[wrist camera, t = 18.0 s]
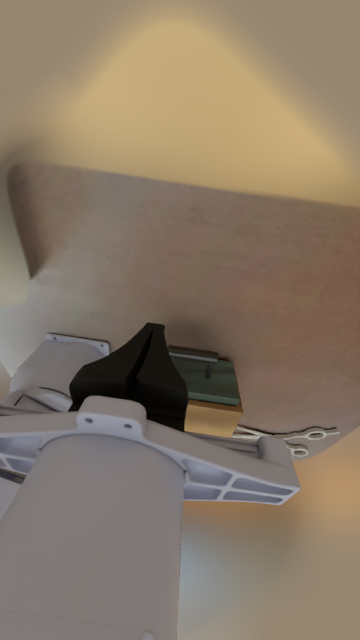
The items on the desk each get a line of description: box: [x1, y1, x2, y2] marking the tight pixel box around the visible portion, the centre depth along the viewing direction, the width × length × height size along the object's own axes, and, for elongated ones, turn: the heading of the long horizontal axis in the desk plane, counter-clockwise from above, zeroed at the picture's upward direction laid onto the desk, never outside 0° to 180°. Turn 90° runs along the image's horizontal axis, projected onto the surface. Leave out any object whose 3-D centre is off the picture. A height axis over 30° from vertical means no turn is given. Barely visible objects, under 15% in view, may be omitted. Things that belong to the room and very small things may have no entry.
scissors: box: [231, 426, 339, 456], centre depth 40 cm, size 11×1×20 cm
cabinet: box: [184, 364, 243, 438], centre depth 32 cm, size 15×14×8 cm
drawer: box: [168, 345, 240, 405], centre depth 30 cm, size 18×13×6 cm
